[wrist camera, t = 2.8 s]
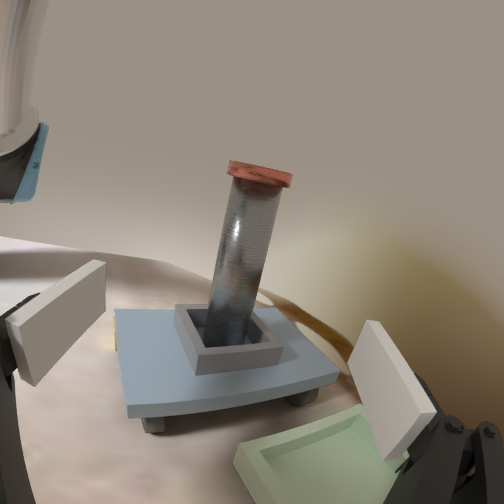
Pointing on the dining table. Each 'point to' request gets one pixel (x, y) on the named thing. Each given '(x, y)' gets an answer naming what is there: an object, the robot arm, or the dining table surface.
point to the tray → (318, 463)
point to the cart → (212, 364)
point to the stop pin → (242, 251)
